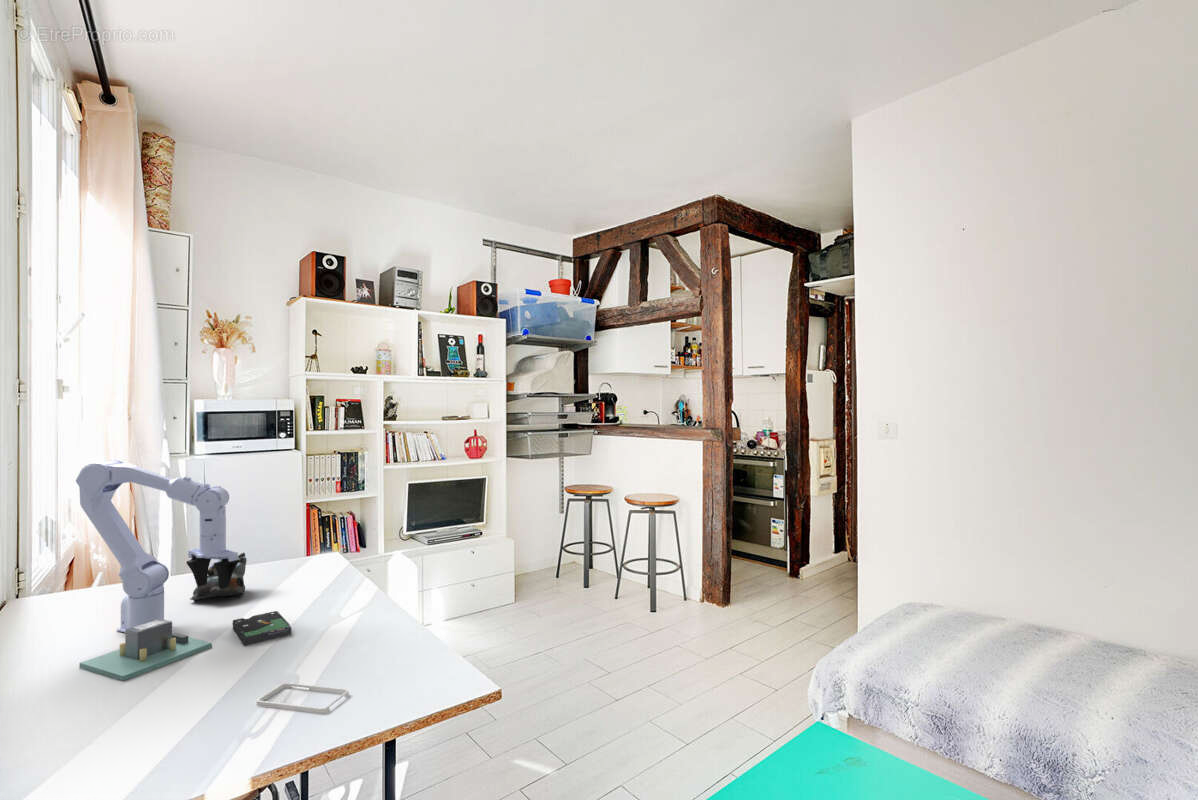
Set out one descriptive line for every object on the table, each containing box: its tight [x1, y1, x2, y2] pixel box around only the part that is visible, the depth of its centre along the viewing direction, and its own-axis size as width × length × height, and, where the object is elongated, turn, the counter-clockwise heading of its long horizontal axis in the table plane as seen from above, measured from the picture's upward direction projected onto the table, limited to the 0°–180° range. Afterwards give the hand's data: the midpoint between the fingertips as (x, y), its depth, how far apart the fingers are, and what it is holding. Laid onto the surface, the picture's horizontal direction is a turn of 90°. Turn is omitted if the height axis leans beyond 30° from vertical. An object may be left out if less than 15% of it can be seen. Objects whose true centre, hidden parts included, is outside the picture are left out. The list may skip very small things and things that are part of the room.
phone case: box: [256, 682, 350, 714], centre depth 111 cm, size 7×1×15 cm
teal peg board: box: [78, 632, 213, 682], centre depth 130 cm, size 16×18×4 cm
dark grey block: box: [124, 619, 173, 660], centre depth 131 cm, size 4×7×6 cm, turn 157°
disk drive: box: [232, 610, 292, 647], centre depth 145 cm, size 10×3×15 cm
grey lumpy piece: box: [189, 552, 247, 602], centre depth 172 cm, size 15×12×14 cm
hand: (212, 586), depth 151 cm, fingers open, 7 cm apart
